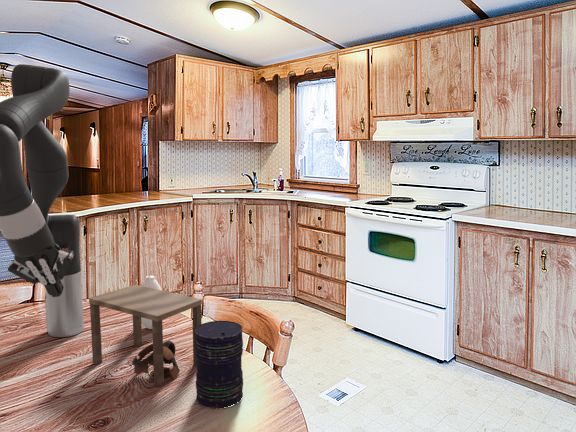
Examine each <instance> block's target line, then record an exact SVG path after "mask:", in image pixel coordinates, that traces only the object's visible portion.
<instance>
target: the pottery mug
mask: <svg viewBox="0 0 576 432" xmlns="http://www.w3.org/2000/svg"><path fill="white" fill-rule="evenodd" d="M148 354H149V355H148ZM137 356H138V357H137ZM137 356H135V357H134V358H132V361H131V364H132V365H133V366H134V368H133V371H134V373H135V374H136V375H137V374H142V373H145V374H147V375H148V374H149V367H150V366H153V367H154V364H153V343H150V344H149V345H147V346H145V347H144V348H143V349H142V350H141V351H139V352H138V353H137ZM175 356H176V345H175V343H174V342H173V341H171V340H166V341H163V362H164V364H165V365H167V364H168V365H171V364H172V368H171V369H170V371H169V374H170V375H171V377H172V379H173V380H175V379H176V378H177V377H178V376H179V374H180V371H181V370H180V368H179V365H178V363H177V361H176V357H175ZM149 365H150V366H149Z"/></svg>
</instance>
